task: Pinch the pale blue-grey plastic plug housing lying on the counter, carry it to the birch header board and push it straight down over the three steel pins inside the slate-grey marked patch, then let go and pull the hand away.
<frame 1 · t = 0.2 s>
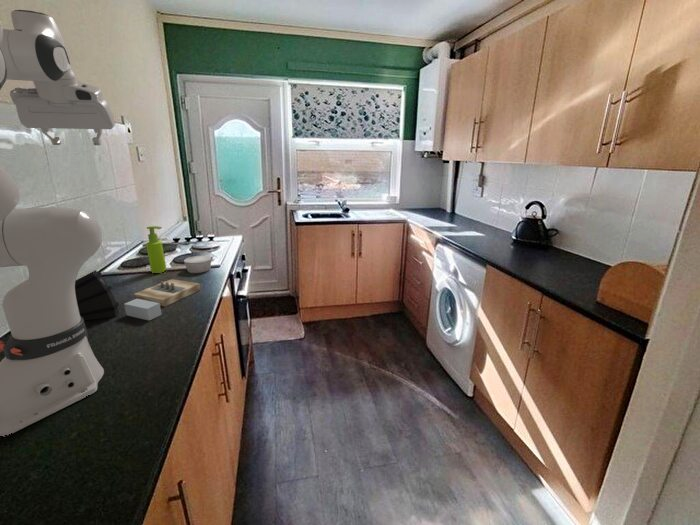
hand: (77, 144, 94), 51 cm above the countertop, tool tilted 20°, fingers open, 8 cm apart
soap dispenser: (160, 272, 148), on the countertop
header board: (169, 294, 123), on the countertop
plug housing: (144, 314, 108), on the countertop
black ridged block: (94, 318, 106), on the countertop
ramekin: (199, 270, 150), on the countertop
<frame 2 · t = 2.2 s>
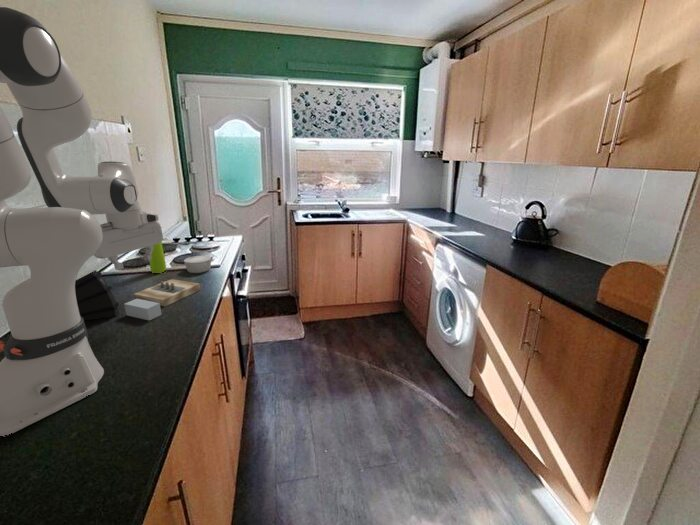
hand: (134, 264, 103), 17 cm above the countertop, tool pointing down, fingers open, 8 cm apart
nothing on the countertop moved.
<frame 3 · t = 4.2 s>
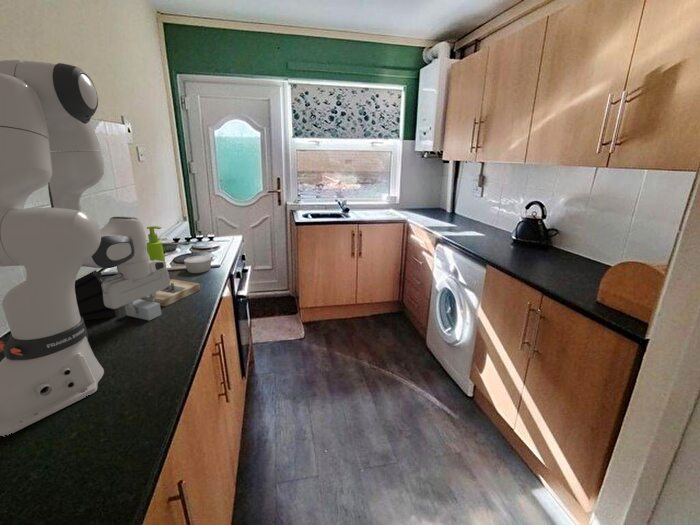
hand: (143, 310, 108), 2 cm above the countertop, tool pointing down, fingers closed on plug housing, 4 cm apart
plug housing: (144, 314, 108), on the countertop, touching gripper
everything else where it was.
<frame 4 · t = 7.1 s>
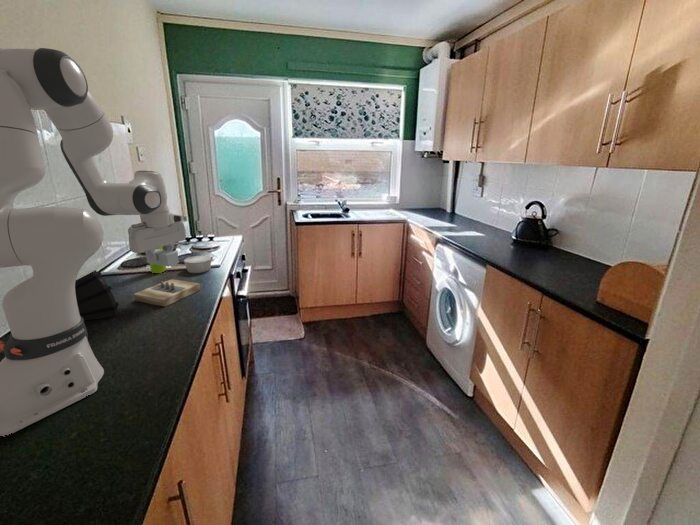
hand: (162, 258, 119), 14 cm above the countertop, tool pointing down, fingers closed on plug housing, 4 cm apart
plug housing: (163, 262, 120), point 12 cm above the countertop, touching gripper
everything else where it was.
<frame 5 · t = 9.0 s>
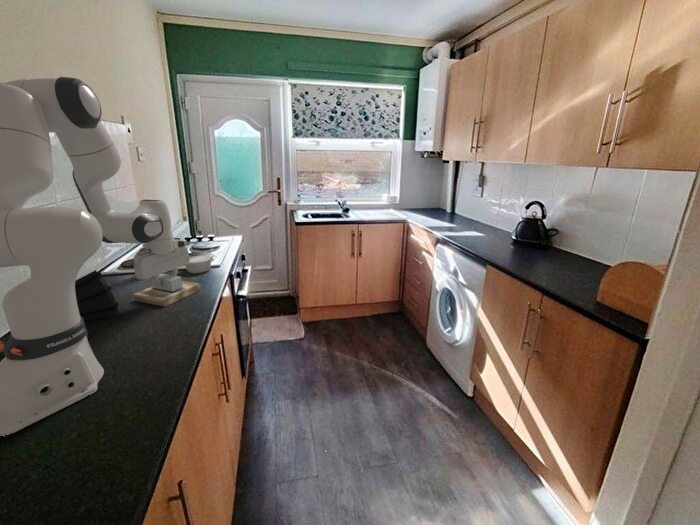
hand: (166, 283, 122), 5 cm above the countertop, tool pointing down, fingers closed on plug housing, 4 cm apart
plug housing: (167, 287, 123), point 3 cm above the countertop, touching gripper
everything else where it was.
when the fingers open (4 cm above the countertop, at t = 10.1 s): plug housing stays where it is, resting on header board.
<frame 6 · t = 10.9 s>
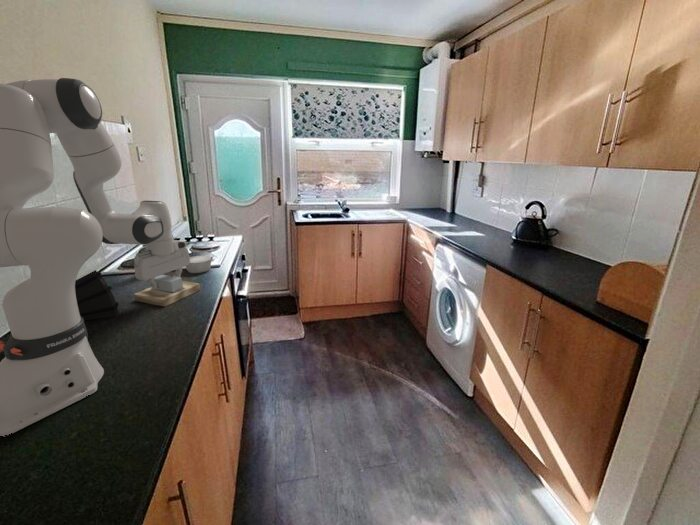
hand: (167, 284, 122), 4 cm above the countertop, tool pointing down, fingers open, 8 cm apart
plug housing: (167, 288, 123), point 3 cm above the countertop, touching header board
everything else where it was.
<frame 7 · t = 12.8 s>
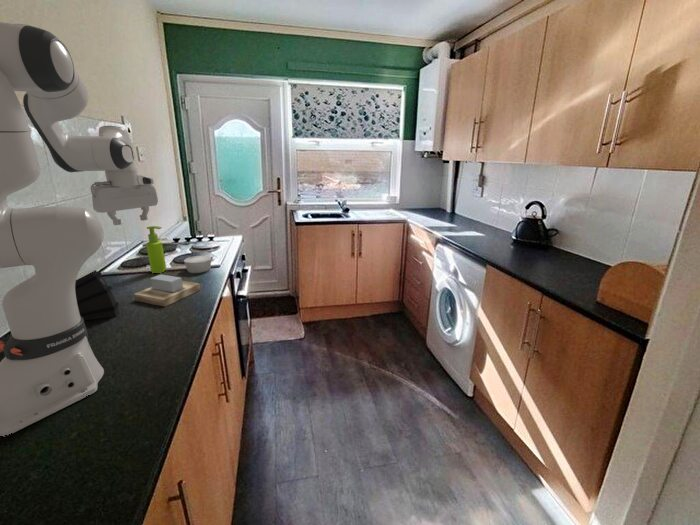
hand: (131, 222, 114), 27 cm above the countertop, tool pointing down, fingers open, 8 cm apart
nothing on the countertop moved.
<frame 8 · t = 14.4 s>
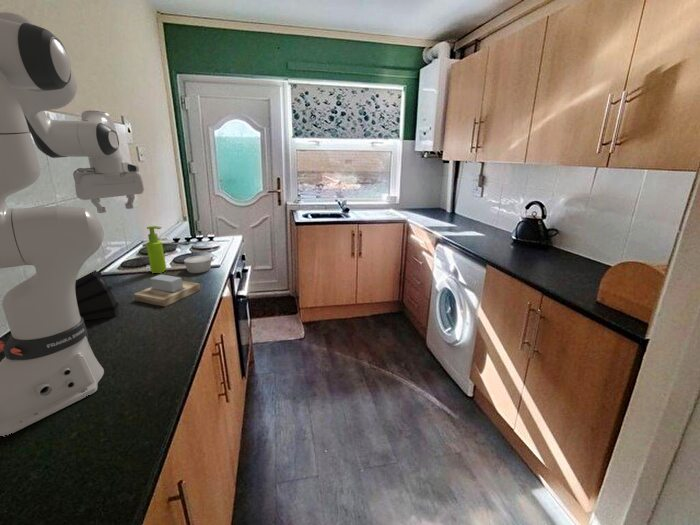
hand: (116, 210, 112), 31 cm above the countertop, tool pointing down, fingers open, 8 cm apart
nothing on the countertop moved.
at the end: plug housing 0.1 cm off-centre on the header board, point 2.6 cm above the header board's base; plug housing tilted 0°; the gripper is holding nothing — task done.
